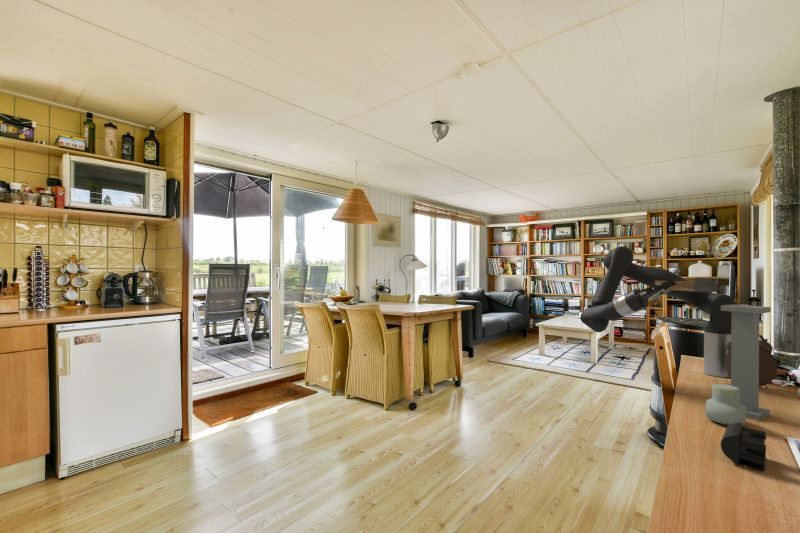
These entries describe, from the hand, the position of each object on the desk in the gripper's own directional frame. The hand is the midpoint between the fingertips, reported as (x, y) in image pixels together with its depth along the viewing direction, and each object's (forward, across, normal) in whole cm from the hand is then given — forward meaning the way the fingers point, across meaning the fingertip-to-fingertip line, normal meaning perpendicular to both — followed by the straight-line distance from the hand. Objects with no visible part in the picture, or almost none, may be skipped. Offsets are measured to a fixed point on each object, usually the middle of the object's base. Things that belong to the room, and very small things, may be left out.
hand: (676, 281), depth 131 cm
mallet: (+1, 0, +4) cm, 4 cm away
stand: (-3, 0, +43) cm, 43 cm away
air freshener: (-3, -14, +43) cm, 45 cm away
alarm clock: (-11, +35, +39) cm, 53 cm away
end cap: (+6, -37, +48) cm, 61 cm away
